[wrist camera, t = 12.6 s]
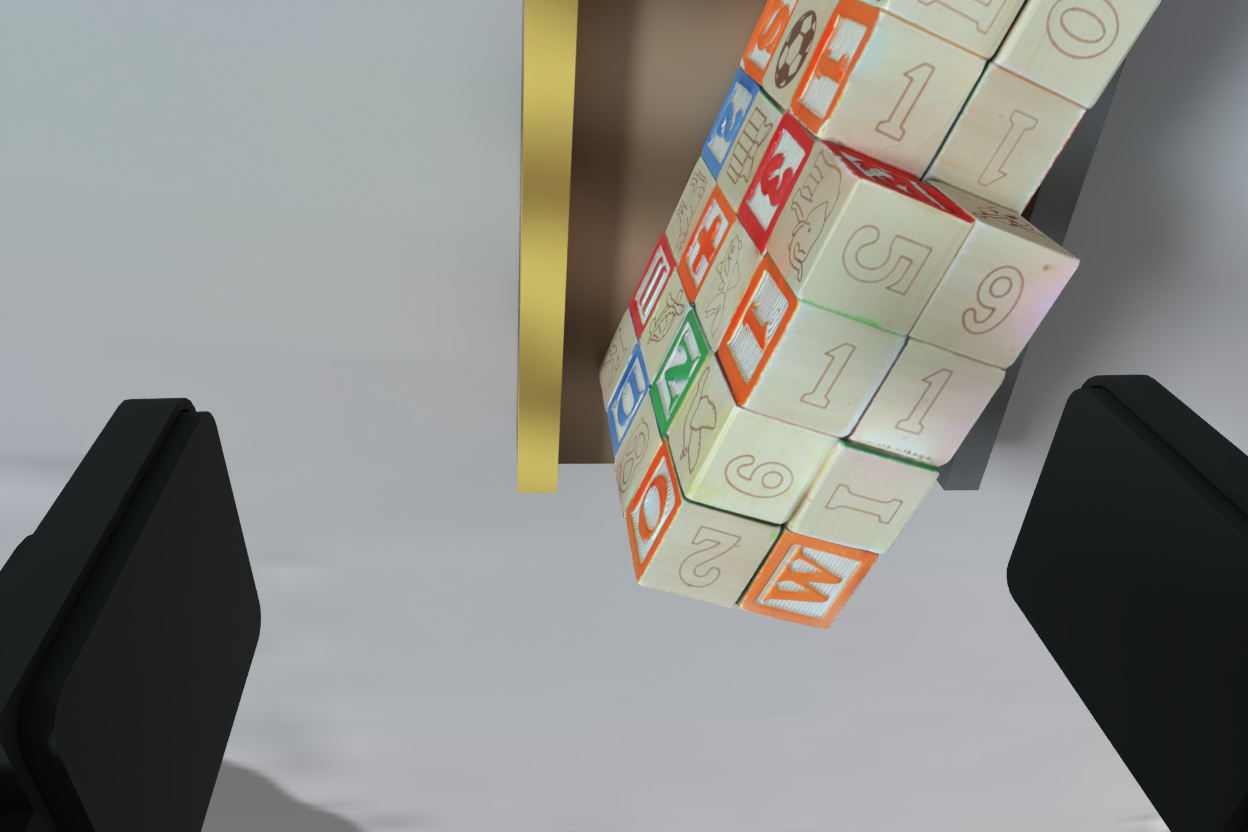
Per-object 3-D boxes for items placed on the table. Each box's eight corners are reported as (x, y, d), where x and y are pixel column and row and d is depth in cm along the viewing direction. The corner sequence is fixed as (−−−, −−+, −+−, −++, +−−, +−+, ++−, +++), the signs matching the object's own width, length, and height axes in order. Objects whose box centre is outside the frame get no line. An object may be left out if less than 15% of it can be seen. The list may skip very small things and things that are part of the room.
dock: (527, -305, 26) (531, -338, 22) (1125, -238, 29) (1232, -256, 24) (516, 424, 39) (517, 492, 35) (930, 426, 41) (978, 490, 37)
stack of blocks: (877, -258, 25) (1140, -345, 15) (1051, -155, 27) (1395, -169, 17) (595, 374, 35) (633, 593, 24) (737, 418, 36) (829, 640, 26)
